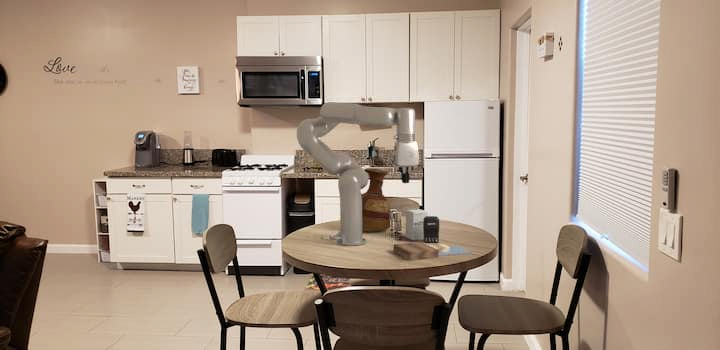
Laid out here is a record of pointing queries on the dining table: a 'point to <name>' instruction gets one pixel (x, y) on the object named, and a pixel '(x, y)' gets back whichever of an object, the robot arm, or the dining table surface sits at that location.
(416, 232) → the supplement box
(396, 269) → the dining table surface
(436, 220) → the battery
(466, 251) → the rubber mat
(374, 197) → the brown vase
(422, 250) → the walnut block
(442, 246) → the birch slab
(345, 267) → the dining table surface
